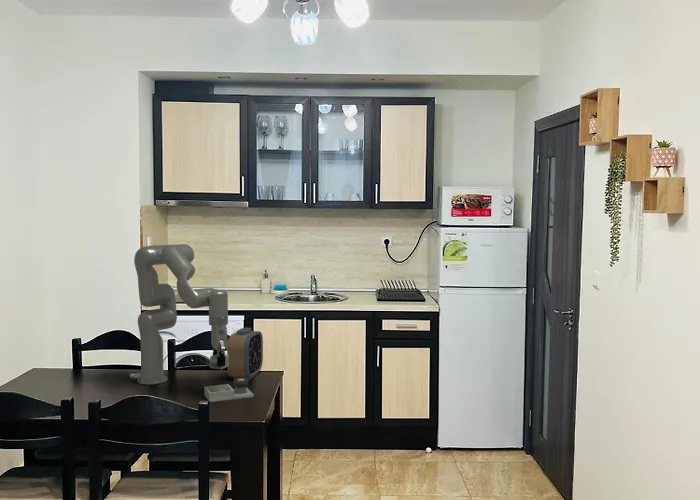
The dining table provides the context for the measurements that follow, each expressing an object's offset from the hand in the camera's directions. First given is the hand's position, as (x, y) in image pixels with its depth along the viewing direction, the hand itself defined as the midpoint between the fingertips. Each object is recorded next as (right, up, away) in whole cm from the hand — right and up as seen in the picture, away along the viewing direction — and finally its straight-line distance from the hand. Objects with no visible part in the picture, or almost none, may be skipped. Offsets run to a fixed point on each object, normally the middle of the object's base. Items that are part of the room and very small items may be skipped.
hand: (218, 363), depth 270 cm
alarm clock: (+6, -12, +33) cm, 35 cm away
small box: (0, -2, 0) cm, 2 cm away
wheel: (+8, -12, +4) cm, 15 cm away
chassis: (+4, -14, +3) cm, 14 cm away
